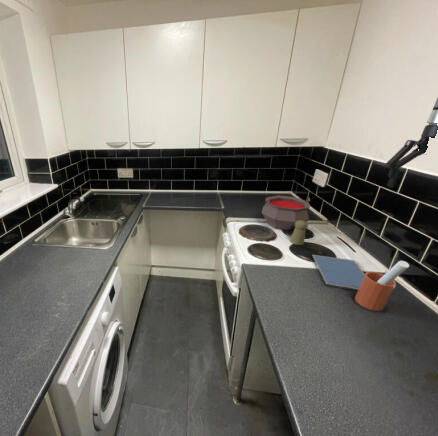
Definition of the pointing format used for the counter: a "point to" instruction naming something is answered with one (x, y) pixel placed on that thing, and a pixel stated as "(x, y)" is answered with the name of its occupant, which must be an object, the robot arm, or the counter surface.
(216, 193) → the counter surface
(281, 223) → the cauldron
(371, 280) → the pen pot
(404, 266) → the stylus
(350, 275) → the tablet
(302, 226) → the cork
